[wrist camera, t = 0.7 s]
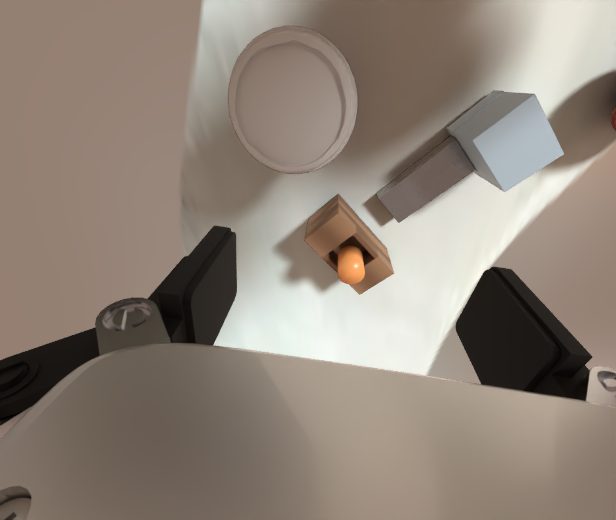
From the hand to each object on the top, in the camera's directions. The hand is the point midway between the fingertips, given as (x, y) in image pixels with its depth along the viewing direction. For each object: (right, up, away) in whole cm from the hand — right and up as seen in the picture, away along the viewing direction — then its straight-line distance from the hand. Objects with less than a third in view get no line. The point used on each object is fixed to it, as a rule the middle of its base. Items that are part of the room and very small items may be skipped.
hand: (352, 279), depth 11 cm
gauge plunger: (+3, +1, +22) cm, 22 cm away
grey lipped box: (+17, +14, +20) cm, 29 cm away
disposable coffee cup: (-2, +18, +19) cm, 26 cm away
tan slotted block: (+4, +4, +27) cm, 27 cm away
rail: (+14, +12, +21) cm, 28 cm away
